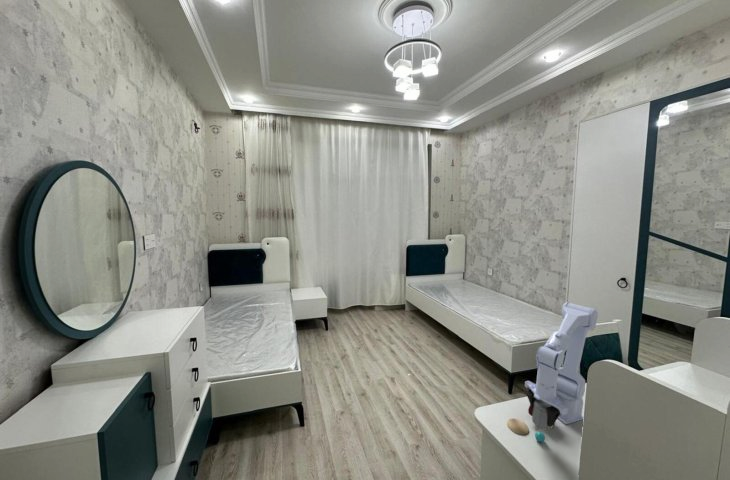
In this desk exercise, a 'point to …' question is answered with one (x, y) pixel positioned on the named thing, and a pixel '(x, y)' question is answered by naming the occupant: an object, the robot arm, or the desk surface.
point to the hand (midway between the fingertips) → (542, 418)
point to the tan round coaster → (518, 426)
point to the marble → (540, 436)
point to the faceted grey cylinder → (540, 414)
